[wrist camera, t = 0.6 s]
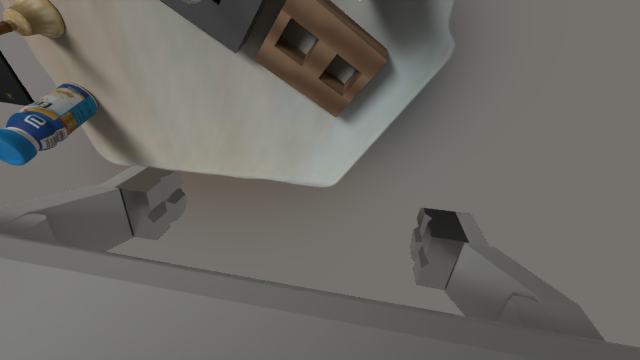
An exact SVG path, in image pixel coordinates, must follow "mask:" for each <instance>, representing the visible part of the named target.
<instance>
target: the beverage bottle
mask: <svg viewBox="0 0 640 360" xmlns="http://www.w3.org/2000/svg"><path fill="white" fill-rule="evenodd" d="M97 110H98V105H97V102H96V100H95V99H94V97H93V96H92V95H91V94H90V93H89V92H88V91H87V90H85V89H84V88H82V87H80V86H78V85H76V84H72V83H65V84H62V85H61V86H59V87H58V88H56V89H55V90H53V91H52V92H50V93H49V94H47V95H46V96H44V97H42V98H40V99H39V100H37V101H35V102H34V103H32V104H29V105H27V106H25V107H24V108H22V109H21V110H20V113H16V114H14V115H12V116H11V117H10V118H9V120H8V122H7V125H6V128H2V129H0V159H1V160H2V161H4V162H7V163H9V164H12V165H24V164H25V163H27V162H28V161H30V160H31V159H32V158H33V157H35V156H36V154H37V153H38V151H42V150H47V149H50V148H53V147H54V146H56V145H57V142H60V141H63V140H64V139H66V138H67V136H68V135H69V134H71V133H72V132H73V131H74V130H75V129H77V128H78V127H79V126H80V125H82V124H83V123H84V122H85V121H87V120H88V119H89V118H90V117H92V116H93V115H94V114H96V112H97Z"/></svg>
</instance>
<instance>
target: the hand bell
mask: <svg viewBox="0 0 640 360" xmlns="http://www.w3.org/2000/svg"><path fill="white" fill-rule="evenodd" d="M3 17H4V20H5V21H1V22H0V35H2V34H5V33H8V32H12V31H15V32H16V33H18V34H20V35H22V36H30V35H36V34H41V35H43V36H46V37H49V38H59V37H61V36H62V35H63V34H64V23H63V20H62V18H61V16H60V14H59V12H58V11H57V9H56V8H55V7H54V6H53V5H52V4H51V3H50V2H49V1H48V0H15V4H14V5H13V6H11V7H10V8H8V9H6V10H5V11H4V12H3Z"/></svg>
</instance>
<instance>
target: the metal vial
mask: <svg viewBox="0 0 640 360" xmlns="http://www.w3.org/2000/svg"><path fill="white" fill-rule="evenodd" d="M182 1H184V2H186V3H188V4H195V3H197V2H199V1H201V0H182Z"/></svg>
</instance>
